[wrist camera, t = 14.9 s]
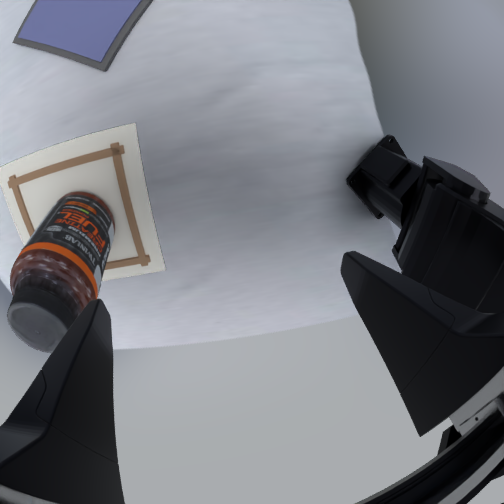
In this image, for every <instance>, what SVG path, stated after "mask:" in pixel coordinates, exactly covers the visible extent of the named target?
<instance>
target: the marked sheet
mask: <svg viewBox="0 0 504 504" xmlns="http://www.w3.org/2000/svg"><path fill="white" fill-rule="evenodd" d="M0 184H1V188H2V191H3V194H4V197H5V200H6V202H7V205H8V208H9V211H10V213H11V216H12V218H13V221H14V223H15V226H16V228H17V231H18V233H19V235H20V238H21V240H22V242H23V244H24V246H25V245H26V243H27V242H28V240H29V239H30V237H31V236H32V234H33V233H34V231H35V230H36V228H37V227H38V226H39V224H40V223H41V221H42V220H43V219H44V217H45V216H46V215H47V213H48V212H49V211H50V209H51V208H52V207H53V206H54V204H55V203H56V202H57V201H58V200H59V199H60V198H61V197H63V196H64V195H66V194H68V193H71V192H87V193H90V194H93V195H95V196H97V197H98V198H99V199H101V200H102V201H103V202H104V203H105V204H106V205H107V207H108V208H109V209H110V211H111V213H112V215H113V218H114V222H115V234H114V239H113V243H112V246H111V249H110V253H109V255H108V259H107V263H106V266H105V270H104V274H103V277H102V281H107V280H113V279H118V278H124V277H130V276H136V275H142V274H148V273H154V272H160V271H166V267H165V263H164V259H163V256H162V252H161V248H160V244H159V240H158V236H157V232H156V228H155V223H154V219H153V215H152V210H151V206H150V201H149V196H148V191H147V186H146V181H145V176H144V171H143V166H142V160H141V154H140V148H139V142H138V136H137V129H136V123H131V124H127V125H123V126H118V127H114V128H110V129H106V130H102V131H99V132H95V133H91V134H88V135H84V136H81V137H78V138H74V139H71V140H68V141H65V142H62V143H59V144H56V145H53V146H50V147H48V148H45V149H42V150H39V151H37V152H34V153H32V154H29V155H27V156H24V157H22V158H19V159H17V160H14V161H12V162H10V163H8V164H5V165H3V166H1V167H0Z"/></svg>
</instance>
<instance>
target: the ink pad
mask: <svg viewBox="0 0 504 504" xmlns="http://www.w3.org/2000/svg"><path fill="white" fill-rule="evenodd" d="M152 1H153V0H35V2H34V4H33V5H32V7H31V9H30V10H29V12H28V14H27V16H26V17H25V19H24V21H23V23H22V25H21V27H20V28H19V30H18V32H17V34H16V36H15V38H14V41H13V43H16V44H20V45H24V46H28V47H32V48H35V49H39V50H43V51H46V52H49V53H53V54H56V55H59V56H62V57H66V58H69V59H72V60H75V61H78V62H80V63H83V64H86V65H89V66H92V67H94V68H97V69H100V70H102V71H107V69H108V68H109V66H110V64H111V62H112V60H113V59H114V57H115V55H116V54H117V52H118V50H119V49H120V47H121V45H122V44H123V42H124V41H125V39H126V37H127V36H128V34H129V33H130V31H131V30H132V28H133V27H134V25H135V24H136V23H137V21H138V20H139V18H140V17H141V16H142V14H143V13H144V11H145V10H146V9H147V7H148V6H149V5H150V4H151V2H152Z"/></svg>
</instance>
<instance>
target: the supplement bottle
mask: <svg viewBox="0 0 504 504" xmlns="http://www.w3.org/2000/svg"><path fill="white" fill-rule="evenodd" d="M114 234H115V222H114V218H113V215H112V213H111V211H110V209H109V208H108V207H107V205H106V204H105V203H104V202H103V201H102V200H101V199H99V198H98V197H97V196H95V195H93V194H90V193H87V192H71V193H68V194H66V195H64V196H63V197H61V198H60V199H59V200H58V201H57V202H56V203H55V204H54V206H53V207H52V208H51V209H50V211H49V212H48V213H47V215H46V216H45V217H44V219H43V220H42V221H41V223H40V224H39V226H38V227H37V228H36V230H35V231H34V233H33V234H32V236H31V237H30V239H29V240H28V242H27V243H26V245H25V246H24V248H23V249H22V251H21V253H20V254H19V256H18V257H17V259H16V261H15V263H14V265H13V267H12V270H11V275H10V286H11V291H12V295H13V300H12V302H11V304H10V307H9V309H8V312H7V313H8V314H7V318H8V323H9V325H10V327H11V329H12V331H13V332H14V333H15V334H16V336H17V337H18V338H19V339H21V340H22V341H23V342H24V343H26V344H27V345H28V346H30V347H32V348H34V349H36V350H40V351H42V352H47V353H52V352H53V351H54V349H55V348H56V346H57V345H58V343H59V342H60V340H61V339H62V338H63V336H64V335H65V333H66V332H67V331H68V329H69V328H70V326H71V325H72V324H73V322H74V321H75V320H76V318H77V317H78V316H79V314H80V313H81V312H82V310H83V309H84V308H85V306H86V305H87V304H88V303H89V301H91V300H94V299H97V297H98V293H99V289H100V286H101V281H102V277H103V274H104V270H105V266H106V263H107V259H108V255H109V253H110V249H111V246H112V243H113V239H114Z"/></svg>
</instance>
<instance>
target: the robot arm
mask: <svg viewBox="0 0 504 504" xmlns="http://www.w3.org/2000/svg"><path fill="white" fill-rule="evenodd" d="M390 139H391V140H390ZM389 140H390V142H389ZM352 180H353V182H352V183H351V181H352ZM347 184H348V186H349V187H350V188H351V189H352V190H353V191H354V192H355V193H356V195H357V196H358V197H359V198H360V199H361V200H362V202H363V203H364V204H365V205H366V206H367V208H368V209H369V210H370V211H371V212H372V214H373V215H374V216H375V217H376V218H377V219H380V218H382V217H383V216H384V215H385V216H386V217H388V218H389V219H390V220H391V221H392V222H393V223H395V224H396V225H397V226H398V227H399V228H400V229H401V232H400V234H399V237H398V240H397V242H396V244H395V245H394V246H393V249H392V252H393V254H394V256H395V258H396V260H397V262H398V264H399V266H400V268H401V270H402V272H401V273H402V274H401V273H399V272H397V271H395V270H393V269H391V268H389V267H387V266H385V265H383V264H381V263H379V262H377V261H374V260H372V259H370V258H368V257H366V256H364V255H362V254H360V253H358V252H356V251H350V252H346V253H344V255H343V260H342V265H341V275H342V278H343V280H344V282H345V285H346V287H347V289H348V292H349V294H350V296H351V299H352V301H353V303H354V305H355V307H356V309H357V311H358V313H359V315H360V317H361V318H362V320H363V322H364V324H365V326H366V328H367V330H368V331H369V333H370V335H371V337H372V339H373V341H374V343H375V345H376V346H377V348H378V350H379V352H380V354H381V356H382V358H383V360H384V362H385V364H386V366H387V368H388V370H389V372H390V374H391V376H392V378H393V380H394V382H395V384H396V386H397V388H398V390H399V392H400V393H401V394H400V395H401V397H402V399H403V401H404V403H405V405H406V407H407V410H408V412H409V414H410V416H411V419H412V421H413V423H414V425H415V428H416V430H417V432H418V434H419V436H420V437H421V436H423V435H424V434H426V433H427V432H429V431H430V430H432V429H433V428H434V427H436V426H437V425H439V424H440V423H441V422H443V421H444V420H446V419H447V418H448V417H449V418H450V420H451V421H452V423H453V425H452V426H450V427H449V428H448V429H446V430H445V431H444V432H443V434H442V439H441V443H440V447H439V450H438V455H437V456H436V457H435V458H433V459H432V460H430V461H429V462H428V463H426V464H425V465H423V466H422V467H420V468H419V469H417V470H416V471H414V472H413V473H411V474H409V475H408V476H406V477H404V478H403V479H401V480H399V481H398V482H396V483H395V484H393V485H391V486H389V487H387V488H385V489H384V490H382V491H380V492H378V493H376V494H374V495H372V496H370V497H368V498H366V499H364V500H362V501H359V502H357V503H355V504H467V503H468V502H469V501H470V500H471V499H472V498H473V497H475V496H476V495H477V494H478V493H479V492H480V491H481V490H482V489H483V488H484V487H485V486H486V485H487V484H488V483H489V482H490V481H491V480H493V479H496V478H498V477H501V476H503V475H504V209H503V208H502V207H500V206H499V205H497V204H496V203H494V202H493V201H491V200H490V199H489V196H490V192H489V190H488V189H487V188H486V187H485V186H484V185H483V184H482V183H481V182H480V181H479V180H478V179H477V178H476V177H475V176H474V175H473V174H471V173H469V172H467V171H465V170H463V169H461V168H460V167H458V166H456V165H453V164H450V163H447V162H444V161H440V160H437V159H433V158H430V157H426V156H424V158H423V166H420V165H418V164H416V163H415V162H413V161H411V160H409V159H407V157H406V155H405V154H404V152H403V150H402V149H401V147H400V146H399V144H398V142H397V141H396V139H395V137H394V136H392V135H387V136H386V137H385V138H384V139H383V140H382V141H381V142H380V143H379V144H378V145H377V147H376V148H375V149H374V150H373V151H372V152H371V153H370V154H369V155H368V156H367V157H366V159H365V160H364V161H363V162H362V163H361V164H360V165H359V166H358V167H357V168H356V169H355V171H354V172H353V173H352V174H351V175H350V176H349V177H348V178H347ZM113 404H114V403H113V347H112V331H111V318H110V314H109V312H108V311H107V309H106V307H105V305H104V303H103V301H102V300H101V299H94V300H91V301H89V303H88V304H87V305H86V306H85V308H84V309H83V310H82V312H81V313H80V314H79V316H78V317H77V318H76V320H75V321H74V322H73V324H72V325H71V326H70V328H69V329H68V331H67V332H66V333H65V335H64V336H63V338H62V339H61V340H60V342H59V343H58V345H57V346H56V348H55V349H54V351H53V352H52V353H51V355H50V356H49V358H48V360H47V361H46V362H45V364H44V366H43V367H42V370H40V372H39V373H38V375H37V376H36V378H35V379H34V381H33V382H32V384H31V386H30V387H29V389H28V390H27V391H26V393H25V395H24V396H23V397H22V399H21V400H20V401H19V403H18V404H17V406H16V407H15V408H14V410H13V411H12V413H11V414H10V416H9V417H8V419H7V420H6V421H5V422H4V423H3V424H2V425H1V426H0V504H125V502H124V497H123V491H122V486H121V479H120V472H119V465H118V458H117V448H116V437H115V424H114V405H113ZM501 504H504V503H501Z"/></svg>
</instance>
